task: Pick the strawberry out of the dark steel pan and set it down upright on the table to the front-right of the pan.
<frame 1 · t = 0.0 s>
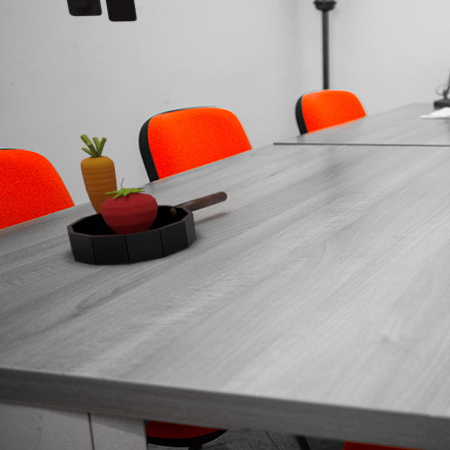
hand: (106, 18, 65), 30 cm above the table, tool pointing down, fingers open, 9 cm apart
carrot: (108, 226, 94), on the table
strawberry: (136, 245, 83), resting in pan
pan: (136, 245, 83), on the table
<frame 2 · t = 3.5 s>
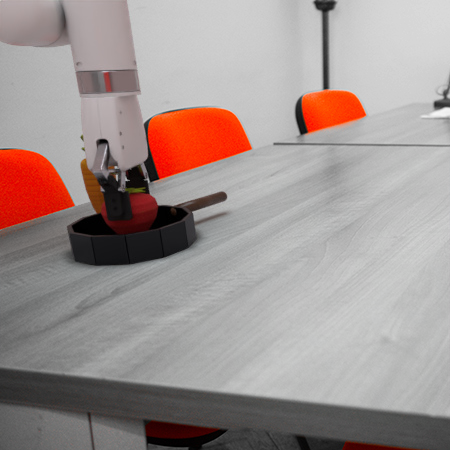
hand: (130, 212, 82), 5 cm above the table, tool pointing down, fingers closed on strawberry, 6 cm apart
strawberry: (136, 245, 83), resting in pan, touching gripper
everything else where it was.
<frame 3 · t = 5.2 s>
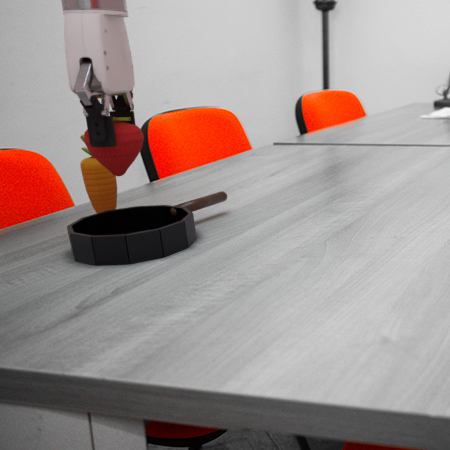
hand: (114, 141, 79), 15 cm above the table, tool pointing down, fingers closed on strawberry, 6 cm apart
strawberry: (120, 177, 80), point 10 cm above the table, touching gripper
everything else where it was.
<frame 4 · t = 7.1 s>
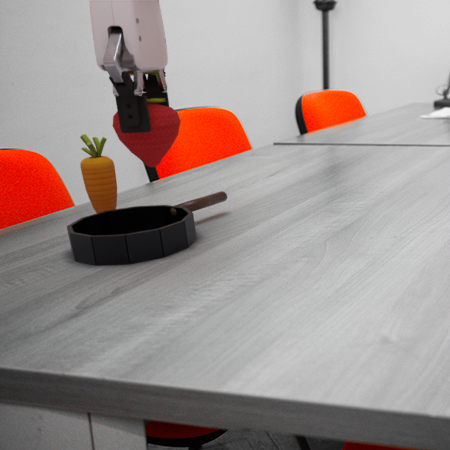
hand: (147, 127, 68), 18 cm above the table, tool pointing down, fingers closed on strawberry, 6 cm apart
strawberry: (154, 168, 69), point 13 cm above the table, touching gripper
everything else where it was.
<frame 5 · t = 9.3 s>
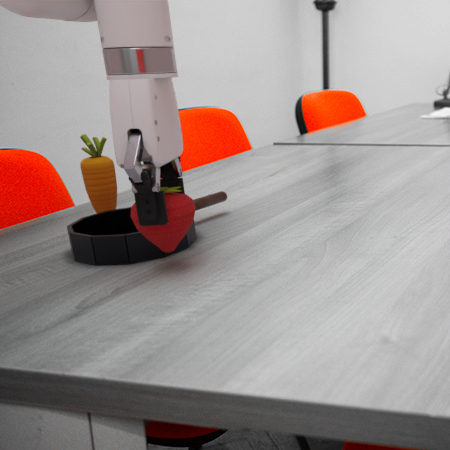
hand: (164, 215, 70), 8 cm above the table, tool pointing down, fingers closed on strawberry, 6 cm apart
strawberry: (170, 253, 72), point 2 cm above the table, touching gripper
everything else where it was.
when the fingers open (5 cm above the table, at t = 10.6 s): strawberry stays where it is, on the table.
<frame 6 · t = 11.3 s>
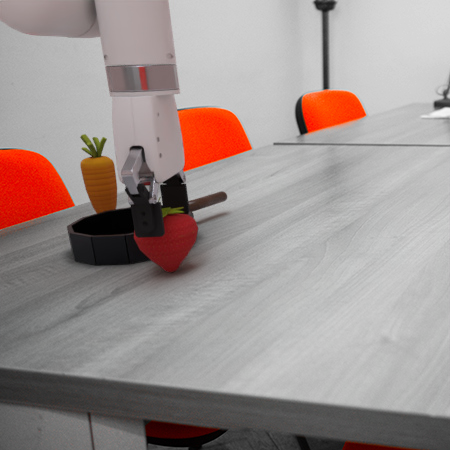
hand: (164, 224, 71), 6 cm above the table, tool pointing down, fingers open, 9 cm apart
strawberry: (172, 273, 72), on the table
everything else where it was.
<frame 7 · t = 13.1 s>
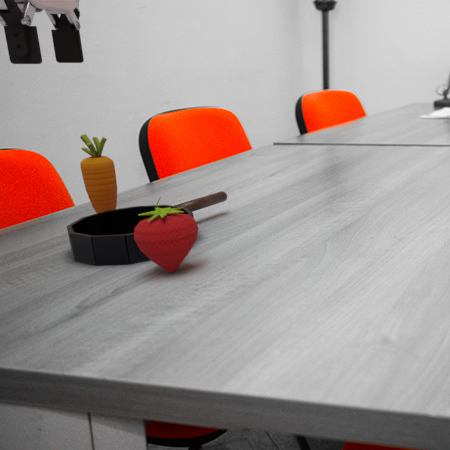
hand: (50, 63, 68), 26 cm above the table, tool pointing down, fingers open, 9 cm apart
nothing on the table moved.
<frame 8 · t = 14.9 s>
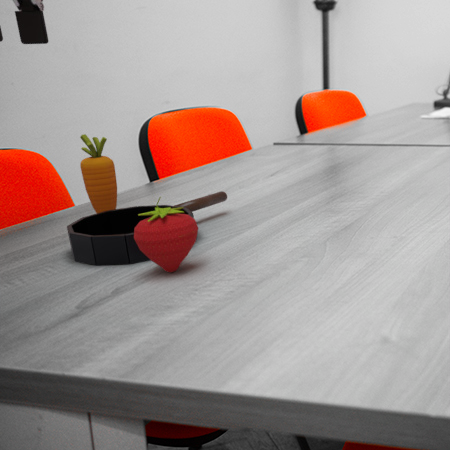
hand: (13, 42, 69), 28 cm above the table, tool pointing down, fingers open, 9 cm apart
nothing on the table moved.
at the end: strawberry inside the target area (0.0 cm from its centre), on the table; strawberry tilted 0°; the gripper is holding nothing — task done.
